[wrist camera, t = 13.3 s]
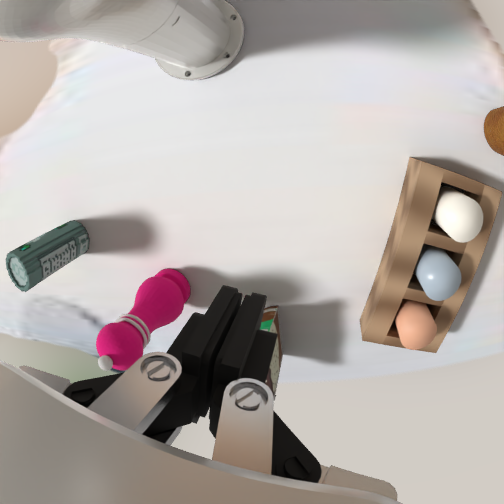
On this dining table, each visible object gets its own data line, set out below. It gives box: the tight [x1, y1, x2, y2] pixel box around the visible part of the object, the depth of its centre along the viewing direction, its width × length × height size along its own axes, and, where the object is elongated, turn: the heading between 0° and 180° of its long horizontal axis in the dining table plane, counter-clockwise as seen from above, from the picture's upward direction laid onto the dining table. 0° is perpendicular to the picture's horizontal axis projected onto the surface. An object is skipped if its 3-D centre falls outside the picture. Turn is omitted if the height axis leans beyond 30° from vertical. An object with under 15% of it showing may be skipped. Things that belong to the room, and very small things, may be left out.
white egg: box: [432, 187, 483, 243], centre depth 30 cm, size 5×5×6 cm
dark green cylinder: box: [6, 220, 89, 292], centre depth 42 cm, size 6×6×15 cm
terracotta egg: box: [394, 298, 437, 350], centre depth 36 cm, size 5×5×6 cm
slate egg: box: [414, 243, 461, 301], centre depth 33 cm, size 5×5×6 cm
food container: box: [260, 306, 283, 400], centre depth 43 cm, size 12×6×10 cm, turn 7°
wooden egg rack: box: [360, 157, 502, 353], centre depth 35 cm, size 24×12×5 cm, turn 171°
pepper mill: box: [96, 269, 190, 370], centre depth 39 cm, size 7×7×20 cm
